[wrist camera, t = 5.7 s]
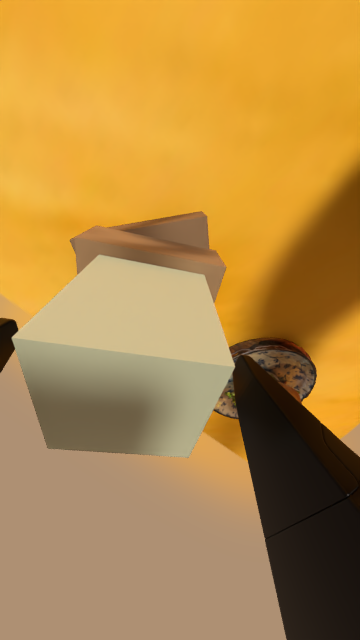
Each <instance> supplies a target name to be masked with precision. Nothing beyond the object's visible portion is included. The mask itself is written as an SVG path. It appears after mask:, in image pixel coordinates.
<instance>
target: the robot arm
mask: <svg viewBox="0 0 360 640" xmlns="http://www.w3.org/2000/svg"><path fill="white" fill-rule="evenodd" d="M17 332H18V327H17V324H16V322H15V320H13V319H6V318H0V372H1V371H2V370H3V368H4V366H5V365H6V363H7V361H8V360H9V358H10V356H11V355H12V353H13V352H14V350H15V347H14V344H13V341H12V337H13V336H14V335H15V334H16V333H17ZM234 365H235V368H234V370H233V372H232V375H233V385H234V394H235V403H236V408H237V413H238V418H239V422H240V427H241V432H242V436H243V441H244V445H245V450H246V455H247V459H248V464H249V468H250V473H251V478H252V482H253V487H254V491H255V496H256V501H257V505H258V509H259V514H260V519H261V523H262V527H263V533H264V537H265V542H266V547H267V551H268V556H269V561H270V566H271V570H272V575H273V579H274V584H275V589H276V593H277V598H278V602H279V607H280V612H281V616H282V621H283V625H284V630H285V634H286V639H287V640H360V457H359V456H358V455H357V454H356V453H354V452H353V451H352V450H351V449H350V448H348V447H347V446H346V445H345V444H344V443H343V442H342V441H341V440H340V439H339V438H337V437H336V436H335V435H334V434H333V433H332V432H331V431H330V430H329V429H328V428H327V427H326V426H324V425H323V424H322V423H321V422H320V421H319V420H318V419H317V418H316V417H315V416H314V415H313V414H312V413H310V412H309V411H308V410H307V409H306V408H305V407H304V406H303V405H302V404H301V403H300V402H299V401H298V400H297V399H295V398H294V397H293V396H292V395H291V394H290V393H289V392H288V391H287V390H286V389H285V388H284V387H283V386H282V385H280V384H279V383H278V382H277V381H276V380H275V379H274V378H273V377H272V376H271V375H270V374H269V373H268V372H267V371H265V370H264V369H263V368H262V367H261V366H260V365H259V364H258V363H257V362H256V361H255V360H254V359H253V358H252V357H250V356H249V355H242V354H241V355H239V356H238V358H237V360H236V362H235V364H234Z"/></svg>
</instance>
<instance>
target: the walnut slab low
mask: <svg viewBox="0 0 360 640" xmlns="http://www.w3.org/2000/svg"><path fill="white" fill-rule="evenodd" d="M108 228H110V229H115V230H120V231H124V232H129V233H134V234H139V235H144V236H148V237H153V238H158V239H163V240H168V241H172V242H177V243H182V244H187V245H192V246H196V247H201V248H206V249H209V239H208V224H207V216H206V215H205V214H204V213H203V212H202V211H200V212H195V213H189V214H183V215H177V216H172V217H166V218H160V219H154V220H148V221H143V222H137V223H131V224H125V225H120V226H114V227H108ZM70 242H71V244H72V247H73V249H74V251H75V253H76V250H75V237H74V238H72V239H70Z"/></svg>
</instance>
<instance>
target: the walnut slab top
mask: <svg viewBox="0 0 360 640" xmlns="http://www.w3.org/2000/svg"><path fill="white" fill-rule="evenodd" d="M75 250H76V262H77V275H78V274H79V273H80V272H81V271H82V270H83V269H84V268H85V267H86V266H87V265H89V264H90V263H91V262H92V261H93V260H94V259H95V258H96V257H97V256H98V255H104V256H109V257H115V258H120V259H125V260H130V261H135V262H140V263H146V264H151V265H156V266H161V267H166V268H171V269H177V270H182V271H187V272H192V273H197V274H203V275H205V278H206V281H207V284H208V287H209V290H210V293H211V296H212V299H213V302H215V299H216V296H217V293H218V290H219V287H220V284H221V282H222V279H223V276H224V273H225V270H226V266H225V264H224V263H223V261H222V260H221V258H220V257H219V255H218V253H217V252H216V250H211V249H206V248H201V247H196V246H192V245H187V244H182V243H177V242H172V241H168V240H163V239H158V238H153V237H148V236H144V235H139V234H134V233H129V232H124V231H120V230H115V229H110V228H105V227H100V226H95V227H93V228H91V229H89V230H87V231H85V232H83V233H82V234H80V235H78V236H76V237H75Z"/></svg>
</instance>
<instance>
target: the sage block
mask: <svg viewBox="0 0 360 640" xmlns="http://www.w3.org/2000/svg"><path fill="white" fill-rule="evenodd" d="M12 341H13V344H14V347H15V350H16V353H17V356H18V359H19V362H20V365H21V368H22V371H23V374H24V377H25V380H26V383H27V386H28V389H29V393H30V396H31V399H32V402H33V404H34V408H35V411H36V414H37V417H38V420H39V423H40V426H41V429H42V432H43V435H44V439H45V442H46V445H47V448H49V449H64V450H79V451H95V452H109V453H110V452H111V453H125V454H140V455H141V454H142V455H156V456H171V457H186V458H188V457H189V456H190V454H191V452H192V450H193V448H194V446H195V444H196V442H197V440H198V438H199V436H200V434H201V433H202V431H203V429H204V427H205V425H206V423H207V421H208V419H209V417H210V415H211V413H212V411H213V409H214V407H215V405H216V403H217V401H218V400H219V398H220V396H221V394H222V392H223V390H224V388H225V386H226V384H227V382H228V380H229V378H230V376H231V374H232V372H233V370H234V368H235V365H234V362H233V359H232V356H231V353H230V350H229V347H228V344H227V341H226V338H225V335H224V332H223V329H222V326H221V323H220V320H219V317H218V314H217V311H216V308H215V305H214V302H213V299H212V296H211V293H210V290H209V287H208V284H207V281H206V278H205V275H203V274H197V273H192V272H187V271H182V270H177V269H171V268H166V267H161V266H156V265H151V264H146V263H140V262H135V261H130V260H125V259H120V258H115V257H109V256H104V255H98V256H97V257H96V258H95V259H94V260H93V261H92V262H91V263H90V264H89V265H87V266H86V267H85V268H84V269H83V270H82V271H81V272H80V273H79V274H78V275H77V276H76V277H75V278H74V279H73V280H72V281H71V282H70V283H69V284H67V285H66V286H65V287H64V288H63V289H62V290H61V291H60V292H59V293H58V294H57V295H56V296H55V297H54V298H53V299H52V300H51V301H50V302H49V303H47V304H46V305H45V306H44V307H43V308H42V309H41V310H40V311H39V312H38V313H37V314H36V315H35V316H34V317H33V318H32V319H31V320H30V321H28V322H27V323H26V324H25V325H24V326H23V327H22V328H21V329H20V330H19V331H18V332H17V333H16V334H15V335H14V336H13V337H12Z"/></svg>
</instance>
